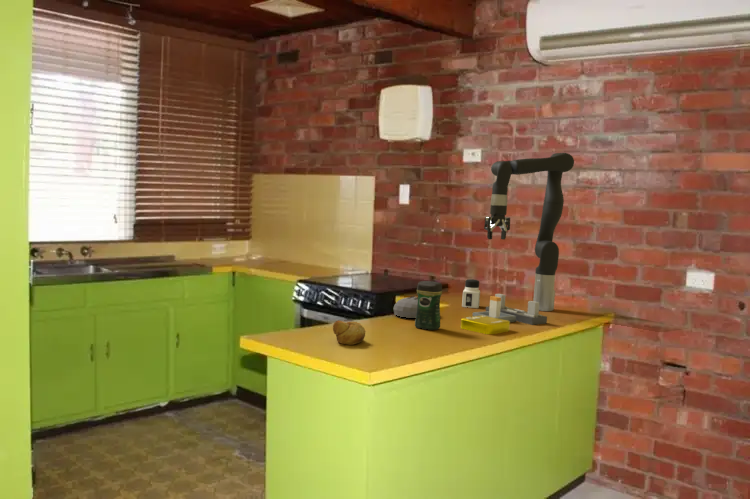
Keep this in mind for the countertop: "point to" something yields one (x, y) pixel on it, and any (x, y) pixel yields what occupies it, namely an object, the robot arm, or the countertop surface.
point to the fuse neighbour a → (501, 300)
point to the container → (471, 294)
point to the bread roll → (349, 332)
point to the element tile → (485, 324)
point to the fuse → (533, 308)
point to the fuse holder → (523, 316)
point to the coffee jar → (428, 305)
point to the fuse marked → (495, 306)
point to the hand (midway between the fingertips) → (496, 239)
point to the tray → (502, 316)
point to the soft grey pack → (406, 307)
